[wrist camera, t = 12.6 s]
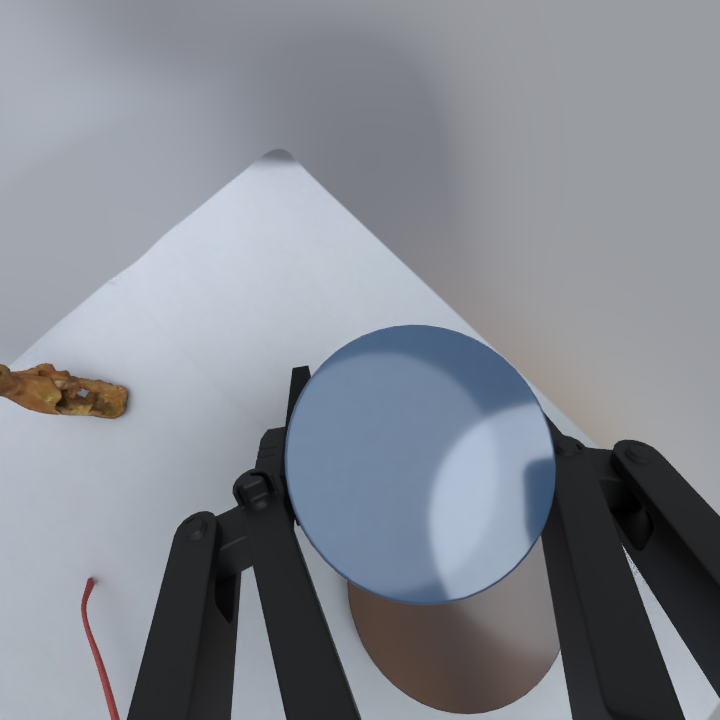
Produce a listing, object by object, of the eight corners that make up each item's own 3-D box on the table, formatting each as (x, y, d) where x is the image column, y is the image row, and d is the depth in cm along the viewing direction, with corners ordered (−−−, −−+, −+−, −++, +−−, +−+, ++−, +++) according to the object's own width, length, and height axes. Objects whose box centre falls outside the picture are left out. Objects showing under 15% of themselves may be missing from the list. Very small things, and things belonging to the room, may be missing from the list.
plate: (528, 450, 32) (536, 450, 31) (588, 679, 28) (600, 693, 26) (335, 481, 32) (333, 483, 30) (366, 718, 28) (366, 734, 26)
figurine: (110, 362, 35) (-20, 321, 23) (142, 404, 34) (23, 383, 22) (71, 393, 34) (-84, 368, 22) (103, 437, 33) (-42, 434, 21)
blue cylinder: (438, 377, 21) (516, 305, 10) (465, 502, 19) (594, 579, 8) (321, 396, 20) (270, 344, 10) (338, 524, 19) (300, 630, 8)
